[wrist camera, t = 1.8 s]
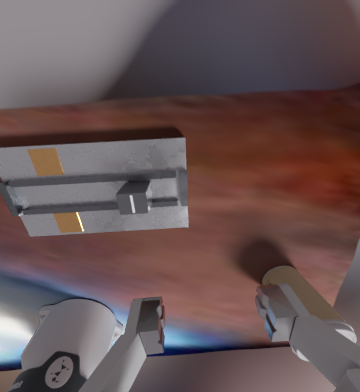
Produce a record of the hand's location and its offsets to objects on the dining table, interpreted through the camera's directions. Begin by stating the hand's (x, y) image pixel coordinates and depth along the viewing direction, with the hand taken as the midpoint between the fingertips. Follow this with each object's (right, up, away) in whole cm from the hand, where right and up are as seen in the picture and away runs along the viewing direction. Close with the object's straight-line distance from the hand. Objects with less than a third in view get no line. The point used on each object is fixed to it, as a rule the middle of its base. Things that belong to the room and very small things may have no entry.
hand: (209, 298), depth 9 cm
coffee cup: (+20, -12, +27) cm, 36 cm away
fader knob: (-8, +6, +15) cm, 18 cm away
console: (-14, +7, +17) cm, 23 cm away
